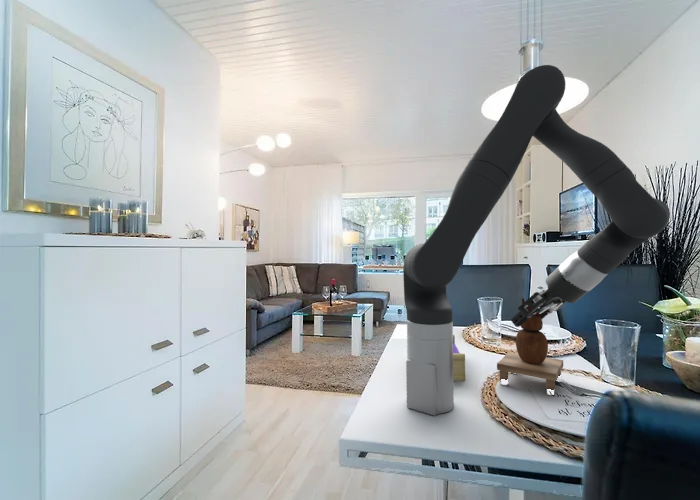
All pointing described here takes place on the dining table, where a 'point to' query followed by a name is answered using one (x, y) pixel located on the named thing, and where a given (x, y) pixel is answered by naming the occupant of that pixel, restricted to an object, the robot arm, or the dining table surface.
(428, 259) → the robot arm
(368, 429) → the dining table surface
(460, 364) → the toy sofa
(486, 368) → the dining table surface
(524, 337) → the wooden figurine
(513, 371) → the footstool
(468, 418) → the dining table surface
